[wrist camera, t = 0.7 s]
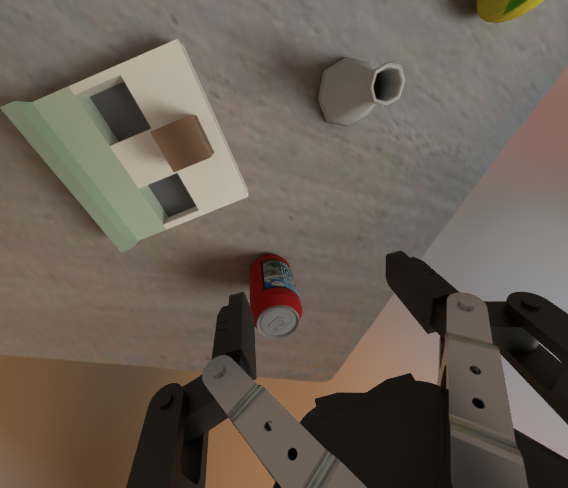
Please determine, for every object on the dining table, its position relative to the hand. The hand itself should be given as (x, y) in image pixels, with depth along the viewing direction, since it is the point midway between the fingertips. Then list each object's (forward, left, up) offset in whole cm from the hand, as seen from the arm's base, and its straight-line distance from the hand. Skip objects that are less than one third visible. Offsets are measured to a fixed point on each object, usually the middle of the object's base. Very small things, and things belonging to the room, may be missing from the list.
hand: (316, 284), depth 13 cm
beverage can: (+14, -1, -23) cm, 27 cm away
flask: (-11, +9, -23) cm, 27 cm away
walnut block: (-6, -10, -20) cm, 23 cm away
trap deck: (-4, -14, -23) cm, 27 cm away
